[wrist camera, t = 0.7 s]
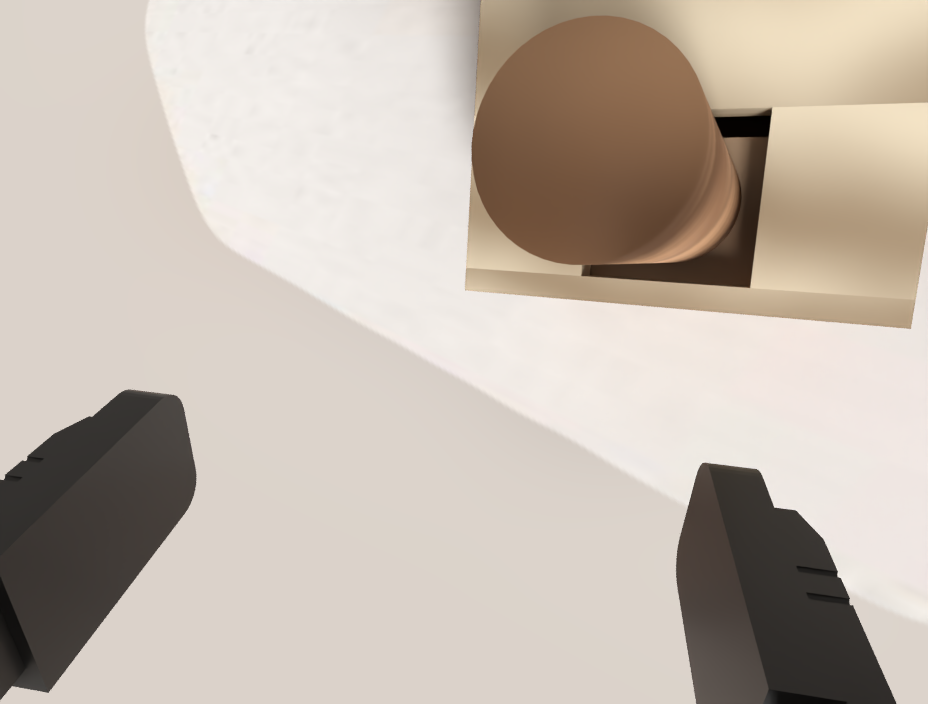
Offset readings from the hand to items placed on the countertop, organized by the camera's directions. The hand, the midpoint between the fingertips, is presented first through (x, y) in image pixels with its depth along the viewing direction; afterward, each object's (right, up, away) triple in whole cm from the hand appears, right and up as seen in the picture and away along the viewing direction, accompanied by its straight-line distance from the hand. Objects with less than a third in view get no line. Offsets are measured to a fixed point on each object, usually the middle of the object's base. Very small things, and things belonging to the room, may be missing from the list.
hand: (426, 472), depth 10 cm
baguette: (+8, +7, +12) cm, 15 cm away
